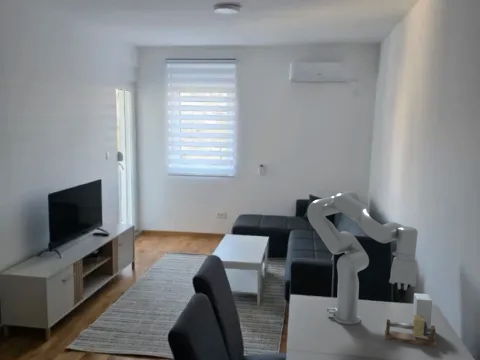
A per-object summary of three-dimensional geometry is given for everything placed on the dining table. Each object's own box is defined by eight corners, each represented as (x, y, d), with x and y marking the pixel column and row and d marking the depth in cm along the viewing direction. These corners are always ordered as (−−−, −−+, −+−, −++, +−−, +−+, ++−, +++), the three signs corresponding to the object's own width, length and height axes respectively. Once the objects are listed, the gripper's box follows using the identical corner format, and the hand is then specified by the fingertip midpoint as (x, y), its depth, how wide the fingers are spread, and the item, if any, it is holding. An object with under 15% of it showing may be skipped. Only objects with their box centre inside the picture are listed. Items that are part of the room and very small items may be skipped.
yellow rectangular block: (413, 335, 188) (414, 319, 187) (412, 330, 193) (413, 314, 192) (423, 336, 187) (424, 321, 186) (422, 331, 192) (423, 316, 191)
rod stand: (385, 339, 191) (386, 321, 190) (384, 333, 197) (386, 315, 196) (435, 347, 186) (437, 328, 185) (433, 340, 192) (435, 322, 190)
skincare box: (430, 334, 197) (433, 301, 194) (414, 333, 198) (417, 299, 196) (426, 326, 205) (429, 293, 203) (411, 324, 206) (413, 292, 204)
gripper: (386, 256, 186) (382, 298, 189) (425, 261, 182) (420, 303, 185) (386, 251, 193) (382, 291, 196) (423, 255, 189) (418, 296, 192)
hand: (400, 297), depth 191 cm, fingers closed
